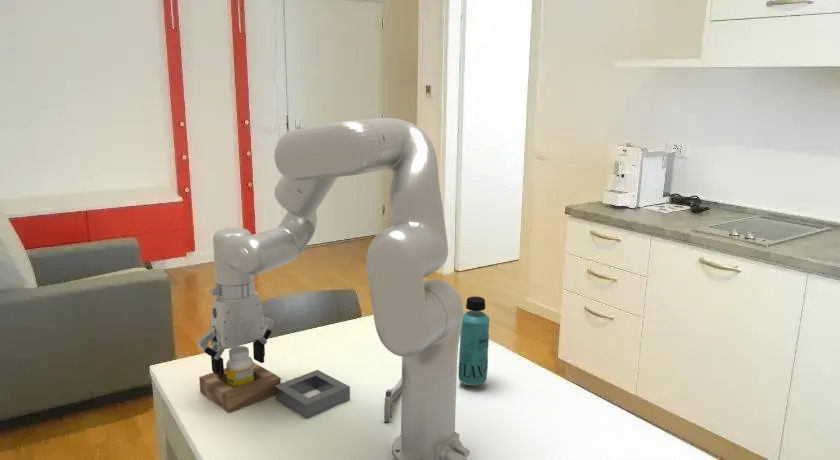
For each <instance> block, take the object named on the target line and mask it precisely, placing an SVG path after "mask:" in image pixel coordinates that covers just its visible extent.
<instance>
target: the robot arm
mask: <svg viewBox="0 0 840 460" xmlns="http://www.w3.org/2000/svg"><path fill="white" fill-rule="evenodd" d="M436 153H437V152H436V149H435V146H434V145H433V142H432V141H431V139H430V137H429V136H428V135H427V133H426V132H425V131H424V130H423V129H422V128H421V127H419V126H418V125H416V124H414V123H412V122H410V121H407V120H404V119H400V118H395V117H394V118H393V117H380V118H379V117H376V118H366V119H354V120H344V121H337V122H333V123H327V124H320V125H315V126H311V127H303V128H294V129H291V130H289V131H286V132H285V133H284V134H283V135H282V136H281V137H280V139H279V140H278V141H277V144H276V147H275V149H274V154H273V155H274V163H275V166H276V168H277V170H278V172H279V173H280V174H281V175H282V176H281V178H280V179H279V180H278V182H277V184H276V185H275V187H274V194H273V195H274V197H275V198H274V199H276V202H277V204H279V205H280V206H281V207H282V209H284V210H285V211H286V214H285V215H284V217H283V218H282V220H281V221H280V223H279V225H277V227H276V228H273V229H268V230H265V231H261V232H258V233H255V234H252V233H251V231H250V230H249V229H246V228H243V227H242V228H241V227H228V228H226V227H225V228H222V229H219V230H217V231H216V232H215V233H214V234H213V238H212V242H213V243H212V246H213V247H212V248H213V260H214V261H213V263H214V264H213V265H214V281H215V283H214V287H213V288H211V289H210V290H209V293H210V295H211V296H215V297H213V301H212V306H211V313H210V315H211V316H210V329H208V331H207V332H206V333H204V334H203V335H202V336H201V337H199V339H197V340H196V344H197V345H198V347H199V349H200V350H202V352H204V353H205V354H206V355H208V356H210V359H211V360H210V361H211V371H212V373H213V372H214V373H215V374H216V375H218V376H219V377H223V376H224V369H225V367H224V358H222V355H223V353H224V352H225V350H227V349H228V350H230V349H231V348H233V347H237V346H244V345H246V344H249V343H252V345H253V346H252V351H253V354H252V355H253V360H255V361H257V362H258V363H260V364H264V363H265V356H266V351H265V350H266V348H265V347H266V346H265V345H267V343H268V338H269V337H270V336H271V335H272V331H273V329H274V326H275V323H276V322H275V320H273V319H270V318H268V317H265V316H264V312H263V311H264V310H263V307H262V302H261V297H260V294H259V292H258V291H256V290H255V275H259V274H262V273H265V272H268V271H272V270H274V269H277V268H280V267H282V266H284V265H285V266H286V265H287V264H290V263H292V262H293V261H295V260H296V259H297V258H298V257H299V256H300V255H301V254H302V252H303V251H304V250H305V248H306V247H307V245H308V244H309V242H310V241H311V240H312V238H313V236H314V234H315V233H316V228H317V222H318V220H317V219H318V218H317V217H318V215H317V210H318V208H319V207H320V205H321V204H322V202H323V200H324V199H326V198H325V197H326V196H327V195H328V193H329V192H330V190H331V188H332V187H333V185H334V184H335V183H336V181H337V180H338V178H342V177H351V176H358V175H364V174H369V173H373V172H379V171H382V170H390V171H391V173H392V175H391V181H390V186H389V194H388V195H389V198H388V199H389V204H390V210H391V220H392V222H391V224H392V225H391V226H390V227H388V228H385V229H384V230H381V231H380V232H379V233H377V234H376V235H375V236H374V238H372V240H371V242H370V244H369V246H368V250H367V253H366V261H365V264H366V266H365V267H366V274H367V282H368V289H369V294H370V295H369V296H370V301H371V302H370V303H371V309H372V313H373V314H372V315H373V321H374V325H375V326H374V327H375V330H376V333H377V336H378V338H379V340H380V342H381V343H382V345H383V346H384V348H386V350H387V351H389V353H391V354H392V355H395V356H398V357H401V358H402V359H401V378H402V390H401V404H400V405H401V409H400V410H401V419H400V424H401V425H400V431H401V432H400V434H399V435H398V436H397V437H396V438H395V439H394V441H393V443H392V445H391V446H392V447H391V454H392V457H393V459H394V460H467V458H468V457H469V456H470V453H471V450H470V449H468V447H467V448H466V447H464V446H463V443H462V441H461V440H460V433H458V432H456V412H457V411H456V407H457V406H456V404H457V403H456V401H457V376H458V358H459V346H460V333H461V327H462V321H463V314H464V305H463V300H462V297H461V295H460V293H459V292H458V290H457V289H456V287H455V286H453V285H452V284H451V283H449V282H447V281H446V280H442V279H436V278H435V279H432V278H431V279H428V280H424V278H426V277H428V276H430V275H432V274H434V273H435V272H437V271H439V270H440V269H441V268H442V267H443V266H444V265H445V263H446V262H447V259H448V256H449V244H448V238H447V237H448V236H447V229H446V221H445V214H444V206H443V205H444V204H443V201H442V195H441V194H442V193H441V187H440V179H439V165H438V159H437V157H438V156H437V154H436ZM211 341H212V345H211V347H210V346H209V343H210V342H211Z"/></svg>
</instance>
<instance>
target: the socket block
mask: <svg viewBox="0 0 840 460" xmlns="http://www.w3.org/2000/svg"><path fill="white" fill-rule="evenodd" d="M274 390H275V395H274V400H275V401H277V402H279V403H280V404H282V405H283V406H285V407H286V408H288V409H289V410H291V411H293V412H295V413H296V414H297V415H300V416H301V417H303V418H304V419H306V420H307V419H310V418H311V417H314V416H316V415H318V414H322V413H323V412H325V411H327V410H330V409H332V408H335V407H337V406H339V405H341V404H345V403H346V402H348V401H350V400H351V386H350V385H348V384H346V383H344V382H342V381H340V380H338V379H336V378H334V377H333V376H330V375H328V374H327V373H325V372H322V371H321V370H319V369H316V370H313V371H311V372H308V373H306V374H303V375H300V376H297V377H295V378H291V379H289V380H287V381H284V382H281V384H278V385H276V386H274ZM313 390H318V391H319V393H317V394H314V395H312V396H310V397H308V396H306V395H304V394H306V393H308V392H310V391H313Z"/></svg>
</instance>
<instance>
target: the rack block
mask: <svg viewBox="0 0 840 460" xmlns="http://www.w3.org/2000/svg"><path fill="white" fill-rule="evenodd" d="M253 372H254V381H252V382H250V383H247V384H244V385H241V386H239V387H236V388H232V387H231V386H229V385H228V384H227V369H226V367H224V376H223V377H219V376H218V375H216V374H215V373H214V372H213V371H212V372H210V373H207V374H205V375H201V376H199V377H198V379H199V392H200V394H202V395H203V396H205V397H206V398H207V399H209V400H210V401H212V402H214V403H215V404H216V405H217V406H219V407H220V408H222V409H223V410H224V411H226V412H227V413H229V414H230V413H233V412H235V411H238V410H241V409H243V408H245V407H249V406H250V405H254V404H256V403H259V402H261V401H264V400H266V399H268V398H271V397H275V390H274V386H276V385H278V384H281V383H282V381H281V380H282V379H281V377H280V376H279V375H276V374H275V373H273V372H271V371H270V370H268V369H267V368H264V367H262V365H259V364H257V363H256V362H254V361H253Z"/></svg>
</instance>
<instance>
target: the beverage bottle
mask: <svg viewBox="0 0 840 460" xmlns="http://www.w3.org/2000/svg"><path fill="white" fill-rule="evenodd" d="M465 309H467V310H468V311H467V312H465V313H463V321H462V327H461V333H460V338H459V349H458V357H457V360H458V362H457V366H458V369H457V372H458V374H457V376H458V379H459V381H460V382H461V383H462V384H465V385H469V386H479V385H482V384H484V383H486V381H487V379H488V371H489V367H488V364H489V359H488V358H489V356H488V355H489V345H490V334H489V331H490V320H491V319H490V318H489V316H488V315H487V314H486V313H485V312H483V311H484V310H485V309H486V299H485V298H484V297H482V296H469V297H467V299H466V303H465Z"/></svg>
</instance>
